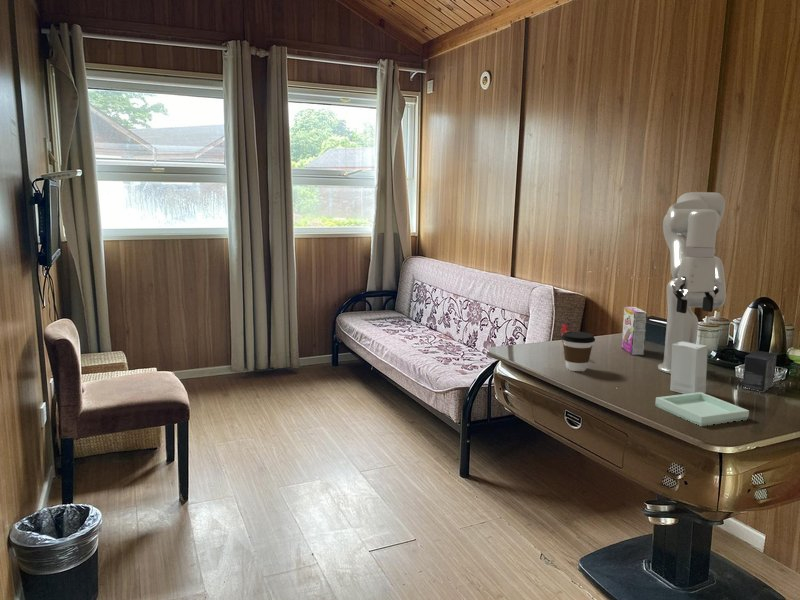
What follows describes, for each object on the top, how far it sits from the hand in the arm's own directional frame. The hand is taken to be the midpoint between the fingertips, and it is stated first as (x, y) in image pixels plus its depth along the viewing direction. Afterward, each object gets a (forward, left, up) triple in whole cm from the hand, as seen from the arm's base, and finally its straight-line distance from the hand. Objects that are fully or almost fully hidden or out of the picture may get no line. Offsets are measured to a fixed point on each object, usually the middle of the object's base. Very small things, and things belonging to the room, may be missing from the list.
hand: (694, 311), depth 176 cm
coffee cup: (+17, -31, -25) cm, 43 cm away
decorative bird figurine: (+7, -49, -25) cm, 56 cm away
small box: (-26, +2, -25) cm, 36 cm away
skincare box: (0, 0, -25) cm, 25 cm away
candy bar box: (-18, -45, -25) cm, 55 cm away
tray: (+10, +15, -25) cm, 30 cm away
